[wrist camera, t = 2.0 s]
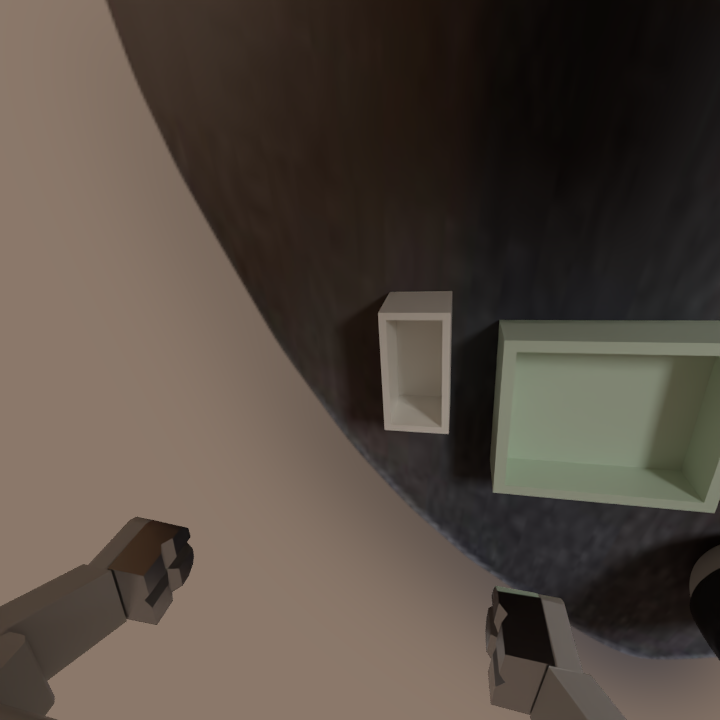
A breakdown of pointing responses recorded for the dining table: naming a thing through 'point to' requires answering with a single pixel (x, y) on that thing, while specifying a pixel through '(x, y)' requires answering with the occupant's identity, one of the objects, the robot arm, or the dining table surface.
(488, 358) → the dining table surface
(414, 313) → the small tote
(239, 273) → the dining table surface
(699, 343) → the box
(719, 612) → the pump dispenser
